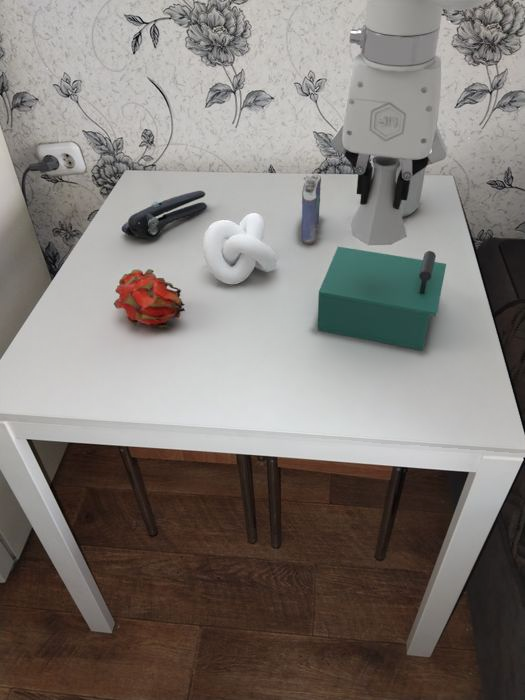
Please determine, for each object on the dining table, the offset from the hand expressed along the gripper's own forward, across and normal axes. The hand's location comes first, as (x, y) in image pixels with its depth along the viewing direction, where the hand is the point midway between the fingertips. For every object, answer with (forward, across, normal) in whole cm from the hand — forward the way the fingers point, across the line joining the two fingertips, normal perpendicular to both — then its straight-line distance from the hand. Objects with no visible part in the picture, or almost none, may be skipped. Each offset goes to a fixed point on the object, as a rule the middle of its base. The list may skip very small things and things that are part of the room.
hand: (381, 200), depth 74 cm
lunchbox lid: (+14, +1, +3) cm, 15 cm away
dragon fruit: (+22, -32, -7) cm, 39 cm away
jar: (+22, -2, +35) cm, 41 cm away
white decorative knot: (+22, -22, +8) cm, 32 cm away
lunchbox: (+21, +1, +3) cm, 22 cm away
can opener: (+22, -41, +18) cm, 50 cm away
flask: (+5, 0, 0) cm, 5 cm away
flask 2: (+22, -15, +23) cm, 35 cm away
